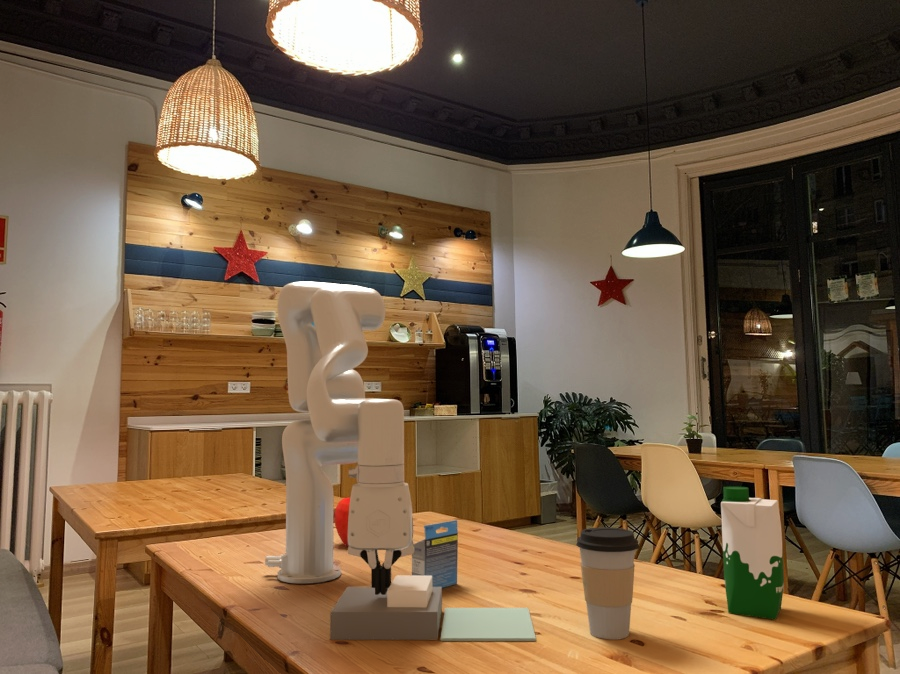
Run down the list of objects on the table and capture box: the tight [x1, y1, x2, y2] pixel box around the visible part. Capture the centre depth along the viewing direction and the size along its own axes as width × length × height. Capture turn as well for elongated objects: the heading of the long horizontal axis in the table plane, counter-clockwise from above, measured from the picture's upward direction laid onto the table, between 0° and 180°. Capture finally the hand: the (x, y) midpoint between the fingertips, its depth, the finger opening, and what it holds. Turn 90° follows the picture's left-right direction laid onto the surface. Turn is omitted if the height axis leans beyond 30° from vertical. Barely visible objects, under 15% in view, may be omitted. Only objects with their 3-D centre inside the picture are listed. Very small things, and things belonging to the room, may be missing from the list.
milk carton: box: [720, 485, 785, 621], centre depth 116 cm, size 9×9×20 cm
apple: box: [334, 496, 351, 547], centre depth 171 cm, size 10×10×12 cm
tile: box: [387, 574, 432, 607], centre depth 110 cm, size 6×9×2 cm, turn 176°
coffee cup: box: [575, 526, 640, 641], centre depth 106 cm, size 9×9×15 cm
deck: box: [329, 586, 443, 641], centre depth 110 cm, size 16×14×4 cm
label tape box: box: [411, 519, 459, 589], centre depth 132 cm, size 9×4×12 cm, turn 135°
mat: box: [440, 607, 537, 642], centre depth 110 cm, size 14×15×1 cm
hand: (381, 592), depth 111 cm, fingers closed
